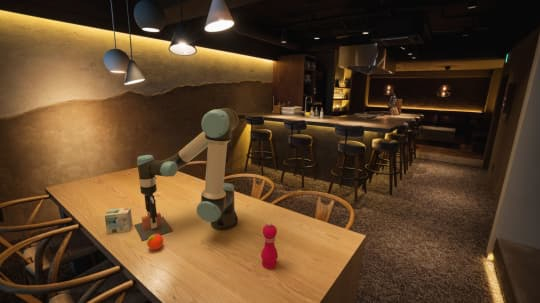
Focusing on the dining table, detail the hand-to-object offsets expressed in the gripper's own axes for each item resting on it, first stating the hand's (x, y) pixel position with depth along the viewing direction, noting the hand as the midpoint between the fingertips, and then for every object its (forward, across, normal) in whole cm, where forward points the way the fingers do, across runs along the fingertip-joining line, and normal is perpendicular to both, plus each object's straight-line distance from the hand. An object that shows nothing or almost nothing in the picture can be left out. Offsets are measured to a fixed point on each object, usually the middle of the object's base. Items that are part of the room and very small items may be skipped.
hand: (152, 225), depth 133 cm
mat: (+1, -1, 0) cm, 2 cm away
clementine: (+2, -20, +4) cm, 20 cm away
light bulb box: (+2, +8, +14) cm, 17 cm away
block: (+1, 0, 0) cm, 1 cm away
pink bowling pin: (+2, -61, -32) cm, 69 cm away
